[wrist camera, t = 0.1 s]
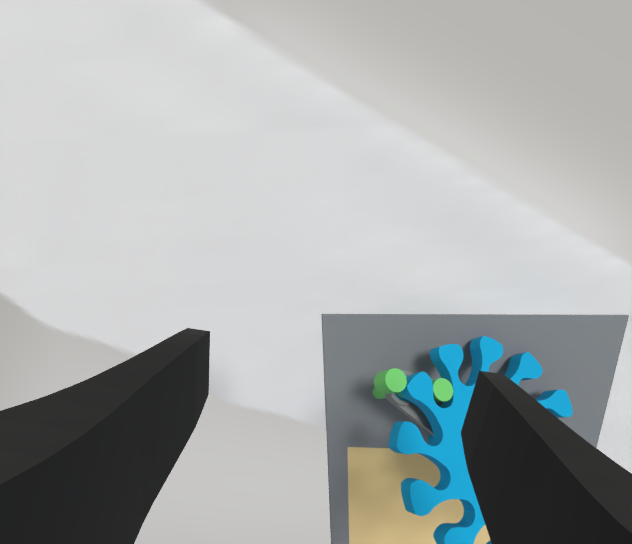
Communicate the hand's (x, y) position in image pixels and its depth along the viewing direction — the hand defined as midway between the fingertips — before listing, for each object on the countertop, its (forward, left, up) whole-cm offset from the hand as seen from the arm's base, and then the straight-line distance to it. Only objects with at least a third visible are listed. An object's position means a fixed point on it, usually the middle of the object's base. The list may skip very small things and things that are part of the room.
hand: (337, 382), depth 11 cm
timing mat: (-12, -6, -11) cm, 17 cm away
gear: (-7, -6, -10) cm, 14 cm away
